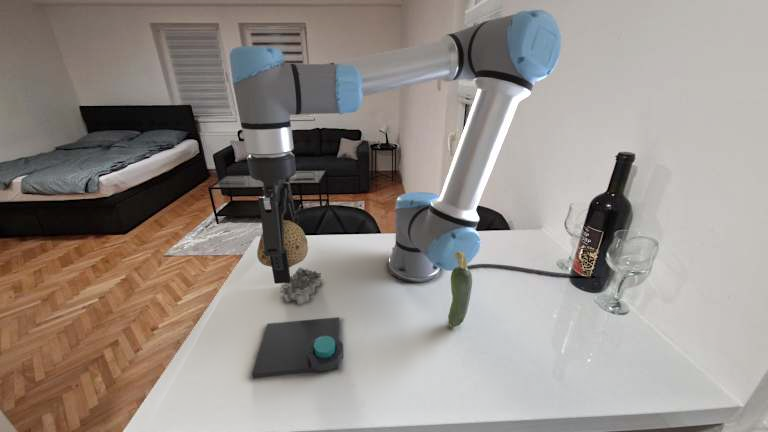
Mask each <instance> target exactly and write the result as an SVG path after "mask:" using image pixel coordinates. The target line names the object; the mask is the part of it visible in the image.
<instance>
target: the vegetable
mask: <svg viewBox="0 0 768 432" xmlns="http://www.w3.org/2000/svg"><path fill="white" fill-rule="evenodd" d="M457 257H458V258H457ZM455 258H457V263H458V265H459V266H458V267H456V268H455V269H454V270H452V271H451V274H450V288H451V289H450V290H451V295H452V300H451V305H450V307H449V312H448V315H447V317H448V318H447V319H448V325H449V326H450V328H451V329H453V328H456V327H459V326H460V325H461V324H462V323H463V322H464V320H465V318H466V315H467V313H468V308H469V305H470V304H469V303H470V301H471V294H472V288H473V276H472V275H473V274H472V273H471V270H470V268H467V266H468V264H467V261H466V258H465V256H464V254H463V253H461V252H457V253H456V254H455Z"/></svg>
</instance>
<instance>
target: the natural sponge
mask: <svg viewBox="0 0 768 432" xmlns="http://www.w3.org/2000/svg"><path fill="white" fill-rule="evenodd" d="M283 223H284V249H285V250H286V251H287V258H288V265H289V269H290V268H292V267H293V266H295V265H297V264H300V263H301V262H303V261H304V260H305V259H306V257H307V255H308V252H309V246H308V238H307V236H306V234H305V232H304V230H303V228H302V227H301V226H300V225H299V224H295V223H293V222H291V221H289V220H283ZM259 239H260V240H259V243H258V247H257V251H256V254H257V255H256V257H257V259H258V261H259V262H260V264H261V265H263V266H265V267H271V268H272V265H271V259H270V256H267V257H266V256H265V255H264V252H263V251H265V249H264V239H263V232H262V233H261V235H260V237H259Z"/></svg>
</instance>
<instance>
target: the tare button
mask: <svg viewBox="0 0 768 432" xmlns="http://www.w3.org/2000/svg"><path fill="white" fill-rule="evenodd" d="M314 350H315V355H316V356H317V357H318V358H320V359H326V358H329V357H331V356H332V355H333V354H334V353H335V341H334V339H333V338H332V337H329V336H323V337H320V338H319V339H317V340H316V341H315V343H314Z"/></svg>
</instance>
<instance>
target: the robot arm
mask: <svg viewBox="0 0 768 432" xmlns="http://www.w3.org/2000/svg"><path fill="white" fill-rule="evenodd" d="M561 51H562V35H561V33H560V26H559V24H558V21H557V20H556V19H555V17H554V16H553V14H551V13H550V12H548V11H546V10H543V9H533V10H532V9H531V10H521V11H518V12H516V13H514V14H511V15H506V16H501V17H498V18H493V19H488V20H485V21H482V22H480V23H477V24H474V25H471V26H469V27H466V28H464V29H461V30H457V31H456V32H455V31H454V32H452V33H447V34H443V35H441V36H440V37H439V38H438V39H437V41H434V42H429V43H428V42H427V43H423V44H419V45H414V46H407V47H404V48H398V49H393V50H389V51H383V52H379V53H373V54H367V55H363V56H359V57H353V58H348V59H343V60H338V61H337V60H336V61H333V62H328V63H322V64H321V63H305V64H303V63H299V64H298V63H296V64H295V63H290V62H286V61H285V59H284V56H283V52H282V50H280V49H279V48H277V47H270V46H268V47H267V46H258V45H244V46H242V45H241V46H236V47H234V48H232V49H231V51H230V52H229V63H230V71H231V79H232V86H233V92H234V96H235V102H236V106H237V111H238V116H239V121H240V127H241V132H240V133H239V138H240V139H243V143H244V148H245V152H246V153H247V154H248V156H247V157H246V162H247V168H248V173H249V176H250V177H251V179H253V180H255V181H259V182H261V183H262V184H263V185H262V187H263V188H262V189H261V196H259V197H258V200H257V202H258V206H259V211H260V218H261V219H260V220H261V230H262V233H263V239H264V249H265V251H263V252H264V255H265V256H266V257H267V256H270V259H271V265H272V267H271V270H272V275H273V276H272V277H273V281H274V284H284V283H290V281H291V278H290V277H291V271H290V268H289V265H288V258H287V251H286V250H285V249H284V223H283V220H289V221H291V222H293V223H295V224H297V225H299V218H296V217H297V213H296V209H295V204H294V199H293V193H292V187H291V178H292V177H294V176H295V175H296V173H297V166H296V157H295V154H294V153H293V152H292V151H293V150H294V149H295V147H294V146H295V145H294V139H293V138H294V137H293V130H292V129H293V128H292V125H291V115H296V116H297V115H298V116H299V115H313V114H314V115H322V114H323V115H324V114H325V115H327V114H339V115H342V114H348V113H349V114H350V113H356V112H357V111H359V109H360V108H361V106H362V102H363V97H367V96H372V95H377V94H381V93H384V92H389V91H393V90H398V89H401V88H406V87H410V86H415V85H420V84H424V83H427V82H428V83H429V82H432V81H436V80H441V81H442V82H446V83H449V82H452V81H458V80H459V81H460V80H473V83H474V86H475V89H476V94H475V97H474V100H473V102H472V106H471V108H470V111H469V113H468V117H467V119H466V122H465V125H464V128H463V131H462V134H461V137H460V139H459V142H458V145H457V148H456V150H455V154H454V156H453V158H452V161H451V165H450V168H449V170H448V173H447V176H446V179H445V181H444V184H443V187H442V190H441V193H440V196H439V195H438V194H437V193H434V192H428V191H412V192H406V193H403V194H401V195H399V196H398V197H397V198H396V202H395V209H394V210H395V244H394V247H392V251H391V254H390V257H389V260H388V269H389V271H390V273H391V275H393V276H394V277H395V278H397V279H399V280H401V281H404V282H408V283H426V282H429V281H432V280H434V279H436V278H437V277H438V276H439V274H440V273H441V270H443V271H447V272H448V271H450V272H452V271H453V270H454V269H455V268H456V267H458V266H459V265H458V263H457V258H458V257H457V258H455V254H456V253H457V252H461V253H463V254H464V256H465V258H466V261H467V268H468V269H472V268H473V269H474V268H481V267H486V268H487V267H489V268H501V269H502V268H503V269H511V270H518V271H524V272H531V273H536V274H537V273H538V274H544V275H550V276H558V277H559V276H560V277H572V278H574V277H573V276H572V275H571V274H572V273H566V272H565V273H564V272H556V271H555V272H554V271H549V270H548V271H547V270H541V269H535V268H527V267H522V266H521V267H520V266H514V265H506V264H495V263H477V264H471V265H469V263H471V262H472V261H473V260H474V259H475V258H476V256H477V255H478V253H479V251H480V249H481V245H482V240H481V235H480V233H478V231H477V227H478V224H479V222H480V219H481V218H480V216H479V214H478V212H477V208H478V206H479V203H480V200H481V198H482V196H483V193H484V190H485V188H486V186H487V184H488V180H489V177H490V175H491V173H492V171H493V168H494V165H495V163H496V160H497V158H498V155H499V152H500V150H501V147H502V145H503V142H504V140H505V137H506V135H507V133H508V129H509V127H510V125H511V123H512V120H513V118H514V115H515V112H516V109H517V106H518V104H519V103H520V102H521V101H522V100H524V99H526V98H528V97H529V96H530V95H531V93H532V90H533V88H534V86H535V84H536V82H540V81H541V80H543V79H545V78H547V76H548V75H550V74H551V73H552V72H553V71H554V69H555V68H556V66H557V64H558V62H559V59H560V55H561Z"/></svg>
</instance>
